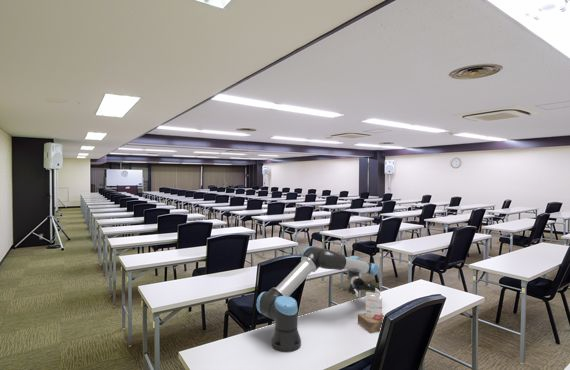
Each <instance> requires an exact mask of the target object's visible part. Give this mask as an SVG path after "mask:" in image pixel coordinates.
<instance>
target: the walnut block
mask: <svg viewBox="0 0 570 370" xmlns="http://www.w3.org/2000/svg"><path fill="white" fill-rule="evenodd" d="M383 317H384V315H383V314H382V318H381V319H380V320H378V319H373V318H369V317H366V312H365V313H364V312H363V313H358V314H357V325H359V326H360V327H362V328H363V329H364V330H365V331H367V332H368V333H370V334H375V333H380V332H381V331H380V328H381V325H382V321H383ZM379 331H380V332H379Z"/></svg>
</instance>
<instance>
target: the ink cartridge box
mask: <svg viewBox="0 0 570 370" xmlns="http://www.w3.org/2000/svg"><path fill="white" fill-rule="evenodd" d="M365 313H366V317H369V318H373V319H378V320H380V319H381V318H382V315H383V297H382V296H381V294H380V295H379V294H376V293H375V292H371V291H366V292H365Z"/></svg>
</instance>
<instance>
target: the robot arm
mask: <svg viewBox="0 0 570 370" xmlns="http://www.w3.org/2000/svg"><path fill="white" fill-rule="evenodd" d="M320 268H321V269H325V270H338V271H342V270H347V271H348V272H347V273H346V274H347V275H346V279H347V281H348V283H350V285H349V287H348V294H351V295H355V296H356V298H358V297H359V292H358V291H363V290H364V291H369V292H371V291H372V292H373V293H376V294H379V295H380V296H381V287H380V286H377V285H374V284H371V283H370V282H369V283H368V284H367V283H366V282H365V281H364V279H362V278H361V277H360V273H362V274H367V275H371V276H377V275H378V273H379V266H378V264H376V263H374V262H368V261H364V260H360V257H359V256H357V255H350V256H345V254H341V253H339V252H336V251H334V250H330V249H328V248H324V247H323V248H322V247H318V246H307V247H305V248H304V250H303V251H302V254H301V259H300V262H299V263H298V264H297V265H296V266H295V267H294V268H293V270H292V271H290V273H289V274H288V275H287V276H286V277H285V278H284V279H283V280H282V281H280V283H279V284H278V285H277V286H276V287H271V288H270V289H269V291H263V292H262V291H261V293H260V294H259V295H258V296H257V299H256V304H255V307H256V309H257V311H258V313H260V314H261V315H263V316H265V317H266V318H268V319H271V320H273V321H274V332H273V335H272V337H271V338H272V339H271V346H272V348H273V349H275V350H277V351H279V352H283V353H288V352H294V351H296V350H298V349H300V348H301V346H302V338H301V336H300V333H299V330H298V309H299V308H298V302H297V300H296V299H295V298H293V297H292V294H293V293H294V291H295V290H296V289H297V288H299V286H300V285H301V284H302V283H303V282H304V281H305V280H306V278H307V277H309V275H310V274H311V273H315V272H316V271H317V270H318V269H320Z"/></svg>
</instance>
